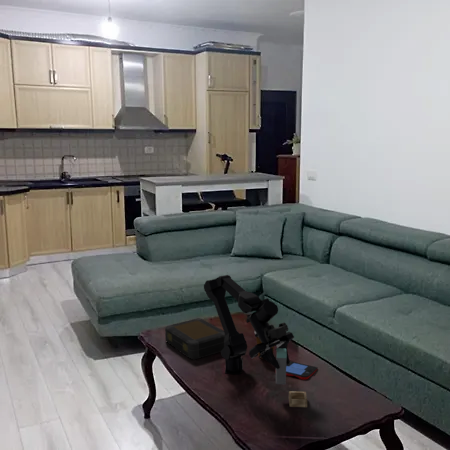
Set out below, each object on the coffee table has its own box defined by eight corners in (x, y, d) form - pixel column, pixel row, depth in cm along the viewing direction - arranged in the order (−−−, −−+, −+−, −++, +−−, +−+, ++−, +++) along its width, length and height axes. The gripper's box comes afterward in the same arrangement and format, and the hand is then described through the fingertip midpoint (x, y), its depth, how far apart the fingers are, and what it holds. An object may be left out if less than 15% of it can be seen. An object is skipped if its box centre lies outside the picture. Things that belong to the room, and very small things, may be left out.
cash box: (231, 349, 221) (231, 333, 220) (192, 361, 210) (191, 344, 208) (201, 331, 241) (201, 316, 240) (164, 341, 230) (163, 326, 228)
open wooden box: (289, 408, 172) (289, 400, 172) (288, 399, 178) (288, 391, 178) (307, 408, 172) (307, 400, 171) (305, 399, 178) (305, 391, 177)
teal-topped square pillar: (276, 384, 176) (276, 352, 174) (275, 379, 179) (276, 348, 177) (285, 384, 176) (286, 352, 174) (285, 379, 179) (286, 348, 177)
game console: (318, 370, 201) (318, 364, 201) (306, 383, 191) (306, 377, 190) (285, 362, 209) (285, 357, 208) (272, 374, 198) (272, 369, 198)
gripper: (255, 323, 170) (278, 365, 164) (291, 310, 182) (314, 348, 176) (239, 338, 177) (260, 378, 171) (274, 324, 189) (296, 361, 184)
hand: (283, 366), depth 175 cm, fingers closed on teal-topped square pillar, 5 cm apart
